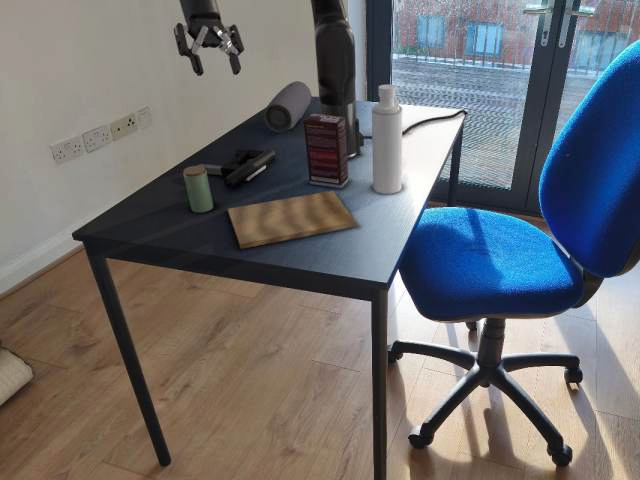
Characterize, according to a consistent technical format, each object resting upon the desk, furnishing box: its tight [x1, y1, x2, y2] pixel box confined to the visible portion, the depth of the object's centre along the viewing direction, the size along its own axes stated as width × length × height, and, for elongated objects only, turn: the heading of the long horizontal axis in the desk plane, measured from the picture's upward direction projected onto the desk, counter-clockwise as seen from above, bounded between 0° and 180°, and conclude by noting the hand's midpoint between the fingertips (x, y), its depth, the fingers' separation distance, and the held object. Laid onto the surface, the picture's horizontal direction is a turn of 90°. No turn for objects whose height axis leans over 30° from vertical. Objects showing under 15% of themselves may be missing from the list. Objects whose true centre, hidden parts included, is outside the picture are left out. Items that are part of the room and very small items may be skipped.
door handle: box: [197, 148, 276, 189], centre depth 139 cm, size 3×20×16 cm
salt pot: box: [182, 165, 214, 214], centre depth 121 cm, size 5×5×9 cm
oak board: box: [227, 190, 357, 250], centre depth 119 cm, size 24×16×1 cm, turn 111°
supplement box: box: [303, 112, 349, 189], centre depth 130 cm, size 9×5×16 cm, turn 71°
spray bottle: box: [371, 84, 403, 195], centre depth 124 cm, size 7×7×25 cm
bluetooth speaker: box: [263, 80, 312, 133], centre depth 165 cm, size 23×9×10 cm, turn 172°
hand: (219, 74), depth 121 cm, fingers open, 8 cm apart
